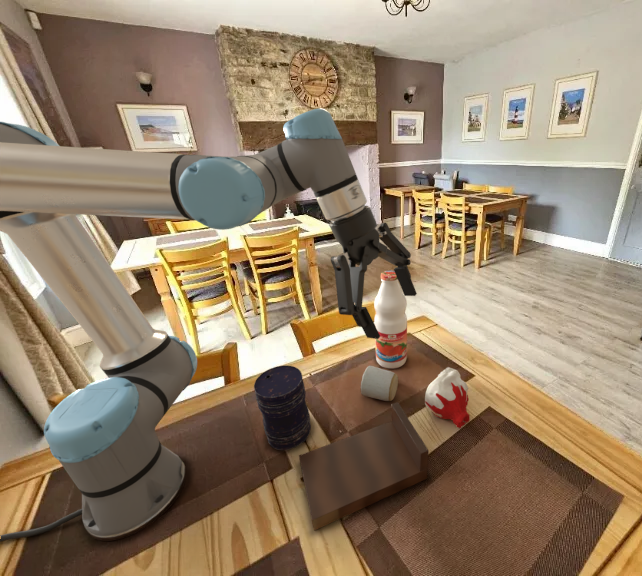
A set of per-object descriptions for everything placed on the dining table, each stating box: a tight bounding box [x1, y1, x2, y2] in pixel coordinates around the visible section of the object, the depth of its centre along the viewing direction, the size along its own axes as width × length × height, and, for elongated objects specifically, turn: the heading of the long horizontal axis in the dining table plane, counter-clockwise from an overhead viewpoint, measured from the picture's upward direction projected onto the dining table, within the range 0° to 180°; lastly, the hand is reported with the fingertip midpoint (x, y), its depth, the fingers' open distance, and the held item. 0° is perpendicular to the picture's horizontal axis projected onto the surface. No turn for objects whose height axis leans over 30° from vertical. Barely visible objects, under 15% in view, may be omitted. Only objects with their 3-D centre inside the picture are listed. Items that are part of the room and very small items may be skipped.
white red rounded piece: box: [424, 366, 471, 429], centre depth 73 cm, size 9×11×15 cm
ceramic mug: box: [360, 365, 399, 402], centre depth 80 cm, size 11×8×8 cm
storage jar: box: [253, 364, 312, 451], centre depth 68 cm, size 10×10×15 cm
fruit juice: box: [373, 270, 408, 369], centre depth 88 cm, size 9×9×28 cm
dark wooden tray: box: [298, 402, 429, 531], centre depth 60 cm, size 22×13×8 cm, turn 113°
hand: (393, 314), depth 60 cm, fingers open, 13 cm apart
